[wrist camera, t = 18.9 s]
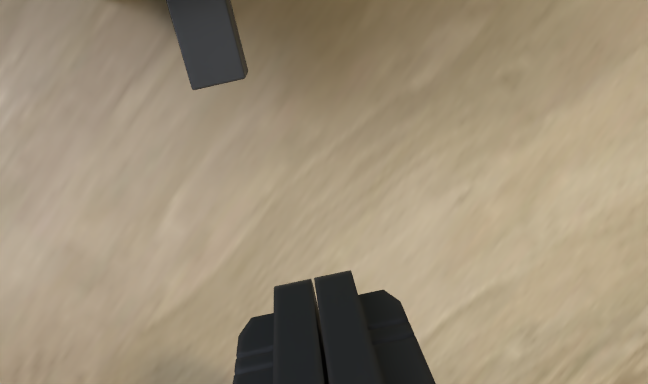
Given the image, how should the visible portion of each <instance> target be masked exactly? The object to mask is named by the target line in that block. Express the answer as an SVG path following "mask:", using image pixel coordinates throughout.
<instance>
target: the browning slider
mask: <svg viewBox="0 0 648 384" xmlns="http://www.w3.org/2000/svg"><path fill="white" fill-rule="evenodd" d="M166 1H167V5H168V8H169V12H170V15H171V19H172V22H173V25H174V29H175V32H176V36H177V39H178V43H179V46H180V49H181V53H182V56H183V60H184V63H185V66H186V70H187V73H188V77H189V80H190V84H191V87H192V89H193V90H197V89H201V88H206V87H210V86H214V85H219V84H223V83H228V82H232V81H237V80H241V79H244V78H245V77H246V75H247V73H248V68H247V64H246V60H245V57H244V53H243V49H242V45H241V41H240V37H239V33H238V29H237V25H236V21H235V17H234V13H233V9H232V5H231V1H230V0H166Z"/></svg>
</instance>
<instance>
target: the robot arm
mask: <svg viewBox="0 0 648 384" xmlns="http://www.w3.org/2000/svg"><path fill="white" fill-rule="evenodd" d="M314 280H315V287H316V294H317V301H318V305H317V301H316V296H315V292H314V287H313V283H312V280H311V279H308V280H303V281H298V282H293V283H289V284H284V285H279V286H275V287H274V313H272V314H267V315H262V316H258V317H253V318H251V319H250V321H249V322H248V323H247V325H246V326H245V328H244V329H243V331H242V332H241V333H240V335H239V337H238V346H237V354H236V356H237V359H236V363H235V375H234V380H233V384H436V383H435V381H434V379H433V377H432V374H431V372H430V370H429V367H428V365H427V363H426V360H425V358H424V356H423V353H422V351H421V349H420V346H419V344H418V342H417V339H416V337H415V336H414V332H413V330H412V328H411V325H410V323H409V322H408V318H407V316H406V314H405V311H404V309H403V307H402V304H401V302H400V301H399V300H397V299H396V298H394V297H393V296H392V295H390V294H389V293H387V292H386V291H385V290H379V291H375V292H370V293H365V294H361V295H358V293H357V290H356V286H355V283H354V279H353V276H352V273H351V270H350V271H345V272H340V273H335V274H331V275H326V276H321V277H317V278H314ZM318 308H319V310H318Z"/></svg>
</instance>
